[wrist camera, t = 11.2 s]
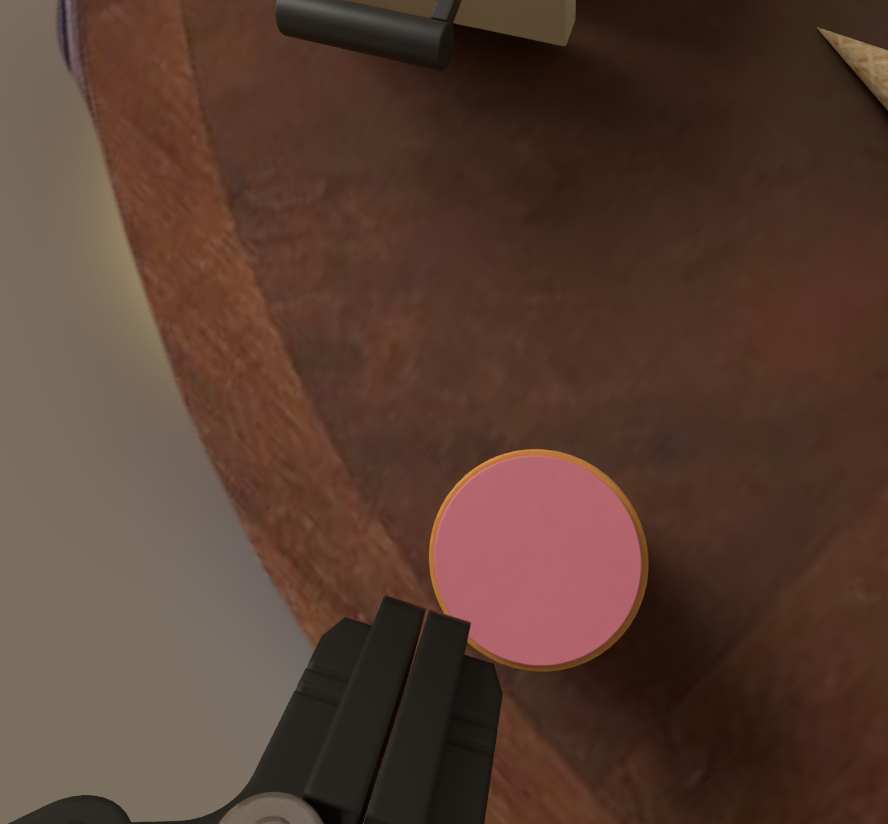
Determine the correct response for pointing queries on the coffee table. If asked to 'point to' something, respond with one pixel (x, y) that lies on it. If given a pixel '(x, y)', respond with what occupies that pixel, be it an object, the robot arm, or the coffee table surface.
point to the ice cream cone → (863, 62)
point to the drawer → (420, 24)
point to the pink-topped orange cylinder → (539, 559)
